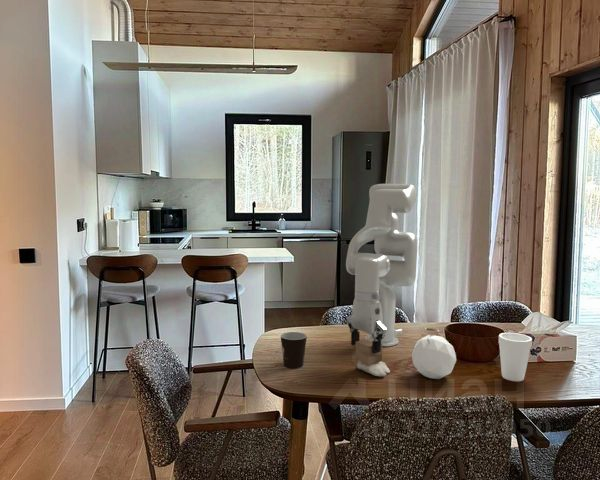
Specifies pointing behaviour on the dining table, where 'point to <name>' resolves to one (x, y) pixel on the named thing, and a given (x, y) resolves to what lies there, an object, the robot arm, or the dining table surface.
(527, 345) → the foam cup
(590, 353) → the dining table surface
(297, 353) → the coffee mug
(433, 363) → the geodesic sphere
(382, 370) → the decorative stone
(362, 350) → the walnut block
